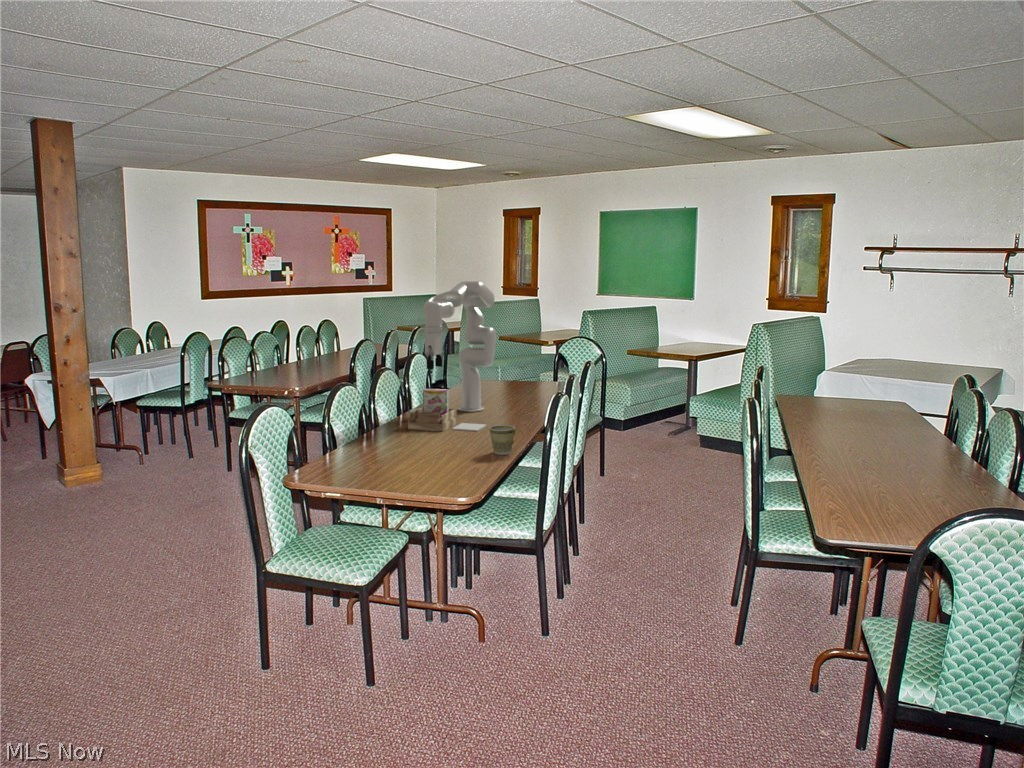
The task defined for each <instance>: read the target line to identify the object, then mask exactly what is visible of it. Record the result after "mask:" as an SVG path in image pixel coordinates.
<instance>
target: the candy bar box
mask: <svg viewBox="0 0 1024 768" xmlns="http://www.w3.org/2000/svg"><path fill="white" fill-rule="evenodd" d="M422 398H423V399H422V400H423V403H422V404H423V405H422V407H423V412H440V418H441V415H443V414H446V413H448V412H449V408H450V404H449V403H450V390H449V389H448V388H447V389H445V388H425V389H423V390H422Z"/></svg>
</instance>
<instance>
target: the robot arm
mask: <svg viewBox="0 0 1024 768" xmlns="http://www.w3.org/2000/svg"><path fill="white" fill-rule="evenodd" d="M494 304H495V295H494V293H493V291H492V290H491V289H490V288H489V287H488V286H487V285H486V284H485V283H484V282H482V281H476V280H475V281H472V280H471V281H470V280H466V281H460V282H459V283H457V284H456V285H455V286H453V287H452V288H451V289H450V290H449V291H445V292H442V293H439V294H436V295H434V296H432V297H430V298H429V299H427V300H426V302H425V303H424V305H423V307H422V308H423V311H422V312H423V315H424V316H425V320H424V322H425V339H424V355H425V357H426V358H425V359H426V369H427V370H434V369H435V367H440V368H441V367H443V355H444V354H443V352H444V351H443V350H444V348H443V337H442V334H443V319H448V318H451V317H452V316H454V314H455V308H458V307H460V306H463V308H464V311H465V313H466V326H465V333H464V341H465V343H466V344H467V345H470V346H472V347H468V346H467V347H463V348H462V349H461V350H460V351H459V354H458V355H459V356H458V357H459V364H460V370H461V405H460V406H459V408H458V410H459V411H461V412H467V413H471V412H472V413H475V412H481V411H484V410H485V407H484V406H483V405H482V402H483V401H482V399H481V398H482V395H481V394H482V392H481V389H482V388H481V387H482V386H481V385H482V384H481V382H482V381H481V372H480V371H479V369H478V368H489V367H492V366H493V364H494V361H495V354H496V345H497V332H496V330H495V328H493V326H492V327H491V326H484V321H485V317H484V314H483V313H482V311H481V308H482V309H483V308H484V309H486V308H487V309H488V308H491V307H493V306H494ZM473 346H480V347H473ZM481 346H483V347H481ZM434 357H435V359H434ZM434 363H435V364H434Z"/></svg>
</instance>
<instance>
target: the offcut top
mask: <svg viewBox="0 0 1024 768" xmlns="http://www.w3.org/2000/svg"><path fill="white" fill-rule="evenodd" d="M439 418H440V412H420V413H419V414H418V420H439Z"/></svg>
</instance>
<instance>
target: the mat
mask: <svg viewBox="0 0 1024 768" xmlns="http://www.w3.org/2000/svg"><path fill="white" fill-rule="evenodd" d="M486 427H487V424H486V423H485V424H484V423H483V424H482V423H469V422H468V423H466V422H461V423H460V424H456V425H455V426H453V427H451V430H452V431H466V432H467V431H468V432H478V431H480V430H482V429H484V428H486Z"/></svg>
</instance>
